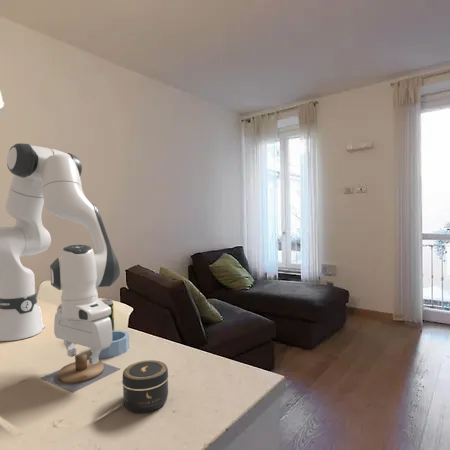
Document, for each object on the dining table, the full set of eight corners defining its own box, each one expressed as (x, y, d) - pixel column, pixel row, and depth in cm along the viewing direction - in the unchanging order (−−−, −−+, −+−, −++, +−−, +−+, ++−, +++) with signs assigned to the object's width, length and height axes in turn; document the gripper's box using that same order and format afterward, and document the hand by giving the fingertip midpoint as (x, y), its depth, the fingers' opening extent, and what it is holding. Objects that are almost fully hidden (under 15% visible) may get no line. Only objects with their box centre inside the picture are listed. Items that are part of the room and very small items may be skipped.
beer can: (100, 337, 117) (99, 303, 117) (96, 333, 122) (95, 300, 121) (116, 334, 120) (115, 301, 120) (112, 330, 125) (110, 298, 124)
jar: (126, 420, 70) (125, 383, 69) (120, 396, 79) (119, 364, 79) (173, 408, 74) (172, 373, 73) (163, 387, 83) (162, 356, 83)
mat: (40, 380, 87) (40, 377, 87) (88, 360, 99) (88, 357, 99) (72, 395, 80) (72, 392, 80) (120, 371, 91) (120, 368, 91)
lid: (49, 376, 88) (48, 358, 87) (86, 360, 97) (86, 344, 97) (75, 387, 82) (74, 368, 82) (112, 369, 91) (111, 352, 91)
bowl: (84, 355, 103) (83, 339, 103) (113, 343, 112) (113, 328, 112) (107, 363, 97) (106, 345, 97) (136, 350, 106) (135, 334, 106)
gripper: (46, 305, 92) (48, 355, 92) (94, 315, 81) (96, 372, 81) (68, 300, 97) (70, 347, 97) (115, 308, 86) (118, 362, 86)
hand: (82, 359), depth 89 cm, fingers open, 8 cm apart
